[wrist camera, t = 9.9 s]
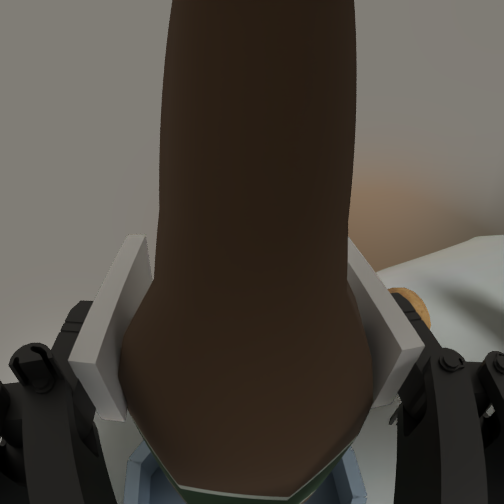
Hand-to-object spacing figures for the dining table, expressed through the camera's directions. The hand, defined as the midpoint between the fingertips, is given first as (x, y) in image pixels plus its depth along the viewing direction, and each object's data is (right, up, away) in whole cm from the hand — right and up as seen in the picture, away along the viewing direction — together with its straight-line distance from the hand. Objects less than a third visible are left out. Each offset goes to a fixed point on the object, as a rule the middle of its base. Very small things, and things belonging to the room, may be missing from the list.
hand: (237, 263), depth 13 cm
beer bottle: (0, -14, +2) cm, 14 cm away
